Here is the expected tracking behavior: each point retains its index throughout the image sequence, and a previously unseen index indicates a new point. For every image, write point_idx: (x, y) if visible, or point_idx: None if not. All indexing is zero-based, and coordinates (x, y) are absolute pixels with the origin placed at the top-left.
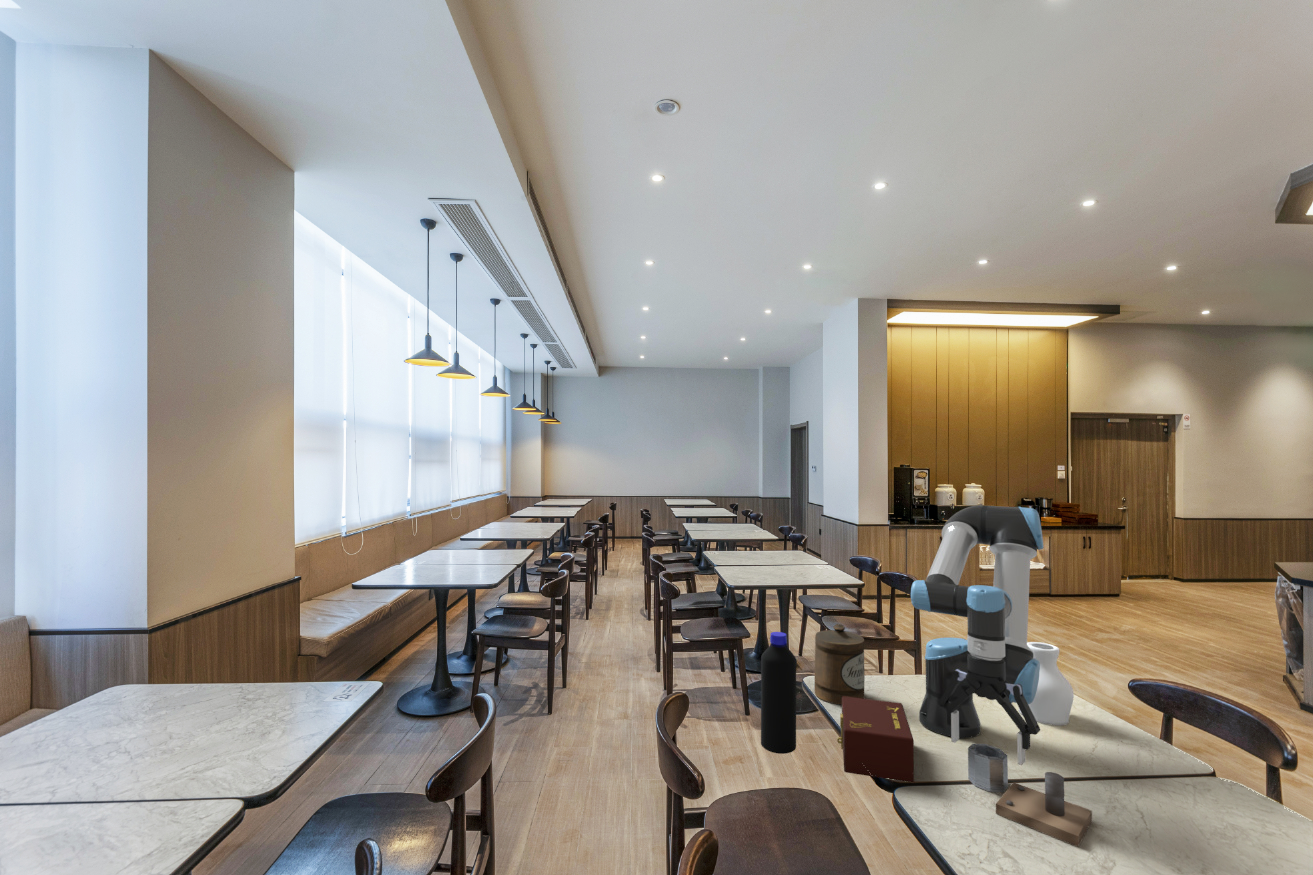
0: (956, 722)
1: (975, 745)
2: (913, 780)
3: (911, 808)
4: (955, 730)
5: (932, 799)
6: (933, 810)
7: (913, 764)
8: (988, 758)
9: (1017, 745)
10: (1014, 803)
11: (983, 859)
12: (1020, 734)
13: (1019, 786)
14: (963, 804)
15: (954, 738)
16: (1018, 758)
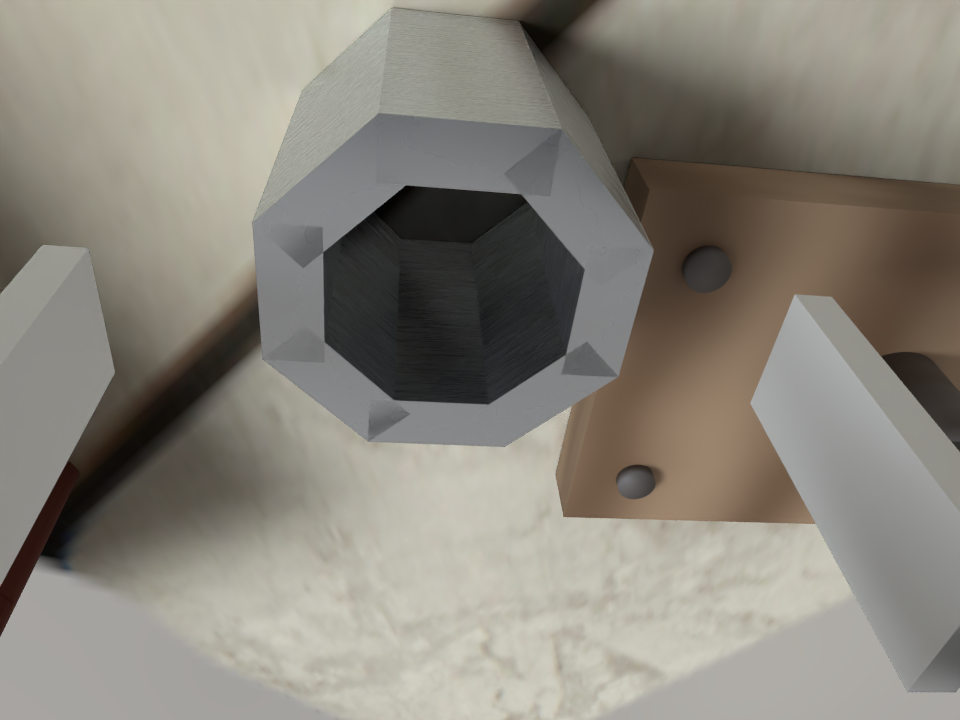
0: (2, 495)
1: (299, 251)
2: (74, 481)
3: (225, 647)
4: (56, 446)
5: (254, 548)
6: (303, 610)
7: (31, 565)
8: (494, 437)
9: (829, 545)
10: (659, 456)
11: (556, 716)
12: (943, 685)
13: (696, 263)
14: (394, 497)
15: (95, 402)
16: (779, 441)
